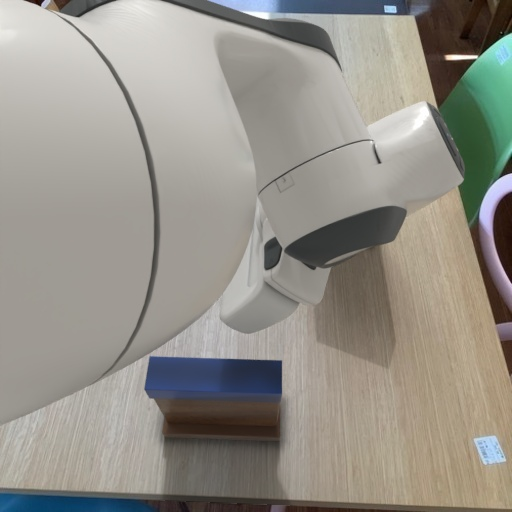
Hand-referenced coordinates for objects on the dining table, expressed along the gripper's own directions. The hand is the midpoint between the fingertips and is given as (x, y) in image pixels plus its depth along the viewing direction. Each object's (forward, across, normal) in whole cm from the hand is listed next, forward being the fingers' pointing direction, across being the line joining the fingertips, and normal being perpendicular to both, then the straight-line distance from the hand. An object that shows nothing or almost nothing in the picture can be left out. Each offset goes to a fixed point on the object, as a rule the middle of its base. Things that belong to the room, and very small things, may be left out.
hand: (211, 264), depth 56 cm
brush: (+11, +13, +13) cm, 22 cm away
